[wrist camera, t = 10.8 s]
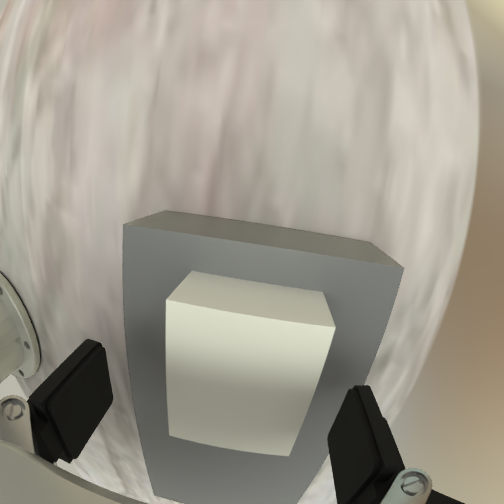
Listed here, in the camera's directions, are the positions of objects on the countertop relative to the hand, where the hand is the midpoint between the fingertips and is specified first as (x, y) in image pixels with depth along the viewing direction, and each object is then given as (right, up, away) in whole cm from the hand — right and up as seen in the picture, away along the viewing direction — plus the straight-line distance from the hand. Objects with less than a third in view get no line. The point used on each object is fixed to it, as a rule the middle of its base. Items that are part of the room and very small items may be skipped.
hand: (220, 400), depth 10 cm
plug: (+1, +2, +8) cm, 8 cm away
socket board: (0, -5, +10) cm, 11 cm away
